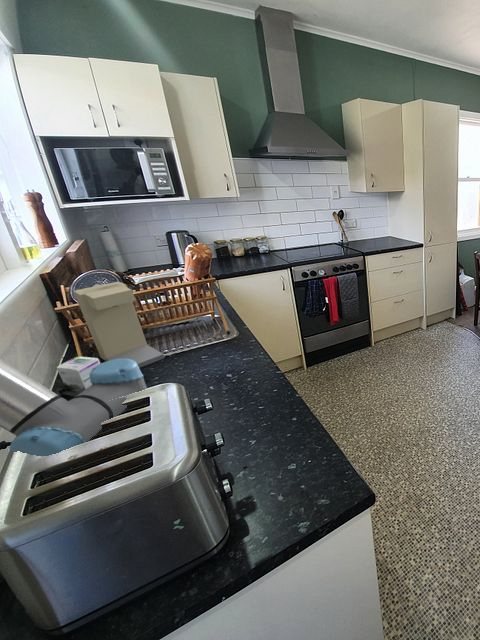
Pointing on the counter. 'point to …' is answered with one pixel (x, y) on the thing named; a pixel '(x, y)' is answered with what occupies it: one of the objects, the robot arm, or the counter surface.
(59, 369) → the syrup box
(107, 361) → the robot arm
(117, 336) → the coffee machine
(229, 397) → the counter surface
